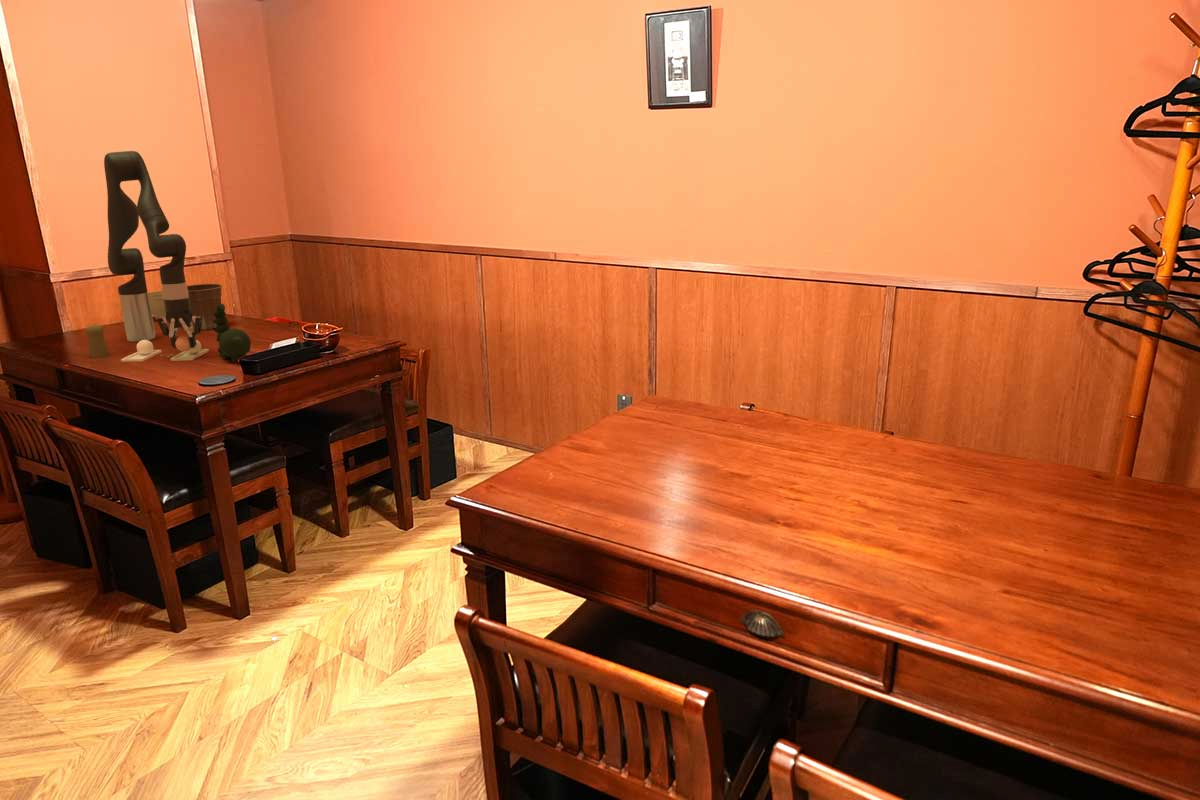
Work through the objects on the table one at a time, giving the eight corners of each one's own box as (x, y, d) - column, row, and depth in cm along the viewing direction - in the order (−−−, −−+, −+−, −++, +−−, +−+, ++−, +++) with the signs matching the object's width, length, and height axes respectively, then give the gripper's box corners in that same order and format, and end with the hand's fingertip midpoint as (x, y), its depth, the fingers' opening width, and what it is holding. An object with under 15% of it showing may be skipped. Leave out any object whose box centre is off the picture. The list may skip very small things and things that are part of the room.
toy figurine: (211, 359, 276) (228, 367, 256) (201, 304, 272) (218, 308, 252) (240, 355, 281) (259, 363, 261) (231, 301, 277) (250, 304, 257)
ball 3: (189, 351, 278) (187, 337, 276) (204, 351, 278) (202, 337, 276) (183, 355, 273) (180, 340, 271) (198, 355, 273) (196, 340, 272)
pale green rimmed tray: (188, 352, 279) (187, 349, 278) (209, 352, 279) (208, 348, 279) (170, 362, 266) (170, 358, 266) (192, 361, 266) (191, 358, 266)
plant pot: (185, 333, 309) (178, 291, 304) (180, 326, 322) (173, 286, 317) (231, 328, 318) (225, 287, 313) (224, 321, 331) (218, 282, 326)
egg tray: (141, 353, 278) (140, 350, 278) (161, 353, 278) (161, 349, 278) (121, 363, 266) (120, 359, 265) (143, 362, 266) (142, 359, 266)
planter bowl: (138, 322, 331) (133, 296, 328) (164, 315, 346) (160, 289, 343) (173, 323, 328) (169, 296, 325) (198, 315, 343) (194, 290, 340)
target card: (163, 355, 276) (162, 352, 276) (180, 355, 276) (180, 351, 276) (151, 361, 268) (150, 357, 268) (169, 361, 269) (169, 357, 268)
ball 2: (180, 349, 271) (178, 334, 270) (195, 349, 271) (193, 334, 270) (173, 353, 266) (171, 338, 265) (189, 352, 266) (186, 337, 265)
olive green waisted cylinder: (114, 355, 276) (108, 323, 273) (102, 359, 270) (95, 327, 267) (97, 355, 277) (91, 323, 273) (85, 359, 271) (78, 327, 268)
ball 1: (142, 352, 277) (139, 338, 276) (157, 352, 277) (154, 338, 276) (135, 356, 272) (132, 341, 271) (150, 356, 272) (147, 341, 271)
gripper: (203, 294, 267) (211, 344, 272) (159, 295, 267) (167, 345, 272) (193, 298, 260) (201, 349, 265) (147, 299, 260) (157, 350, 265)
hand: (184, 347), depth 268 cm, fingers closed on ball 2, 5 cm apart
